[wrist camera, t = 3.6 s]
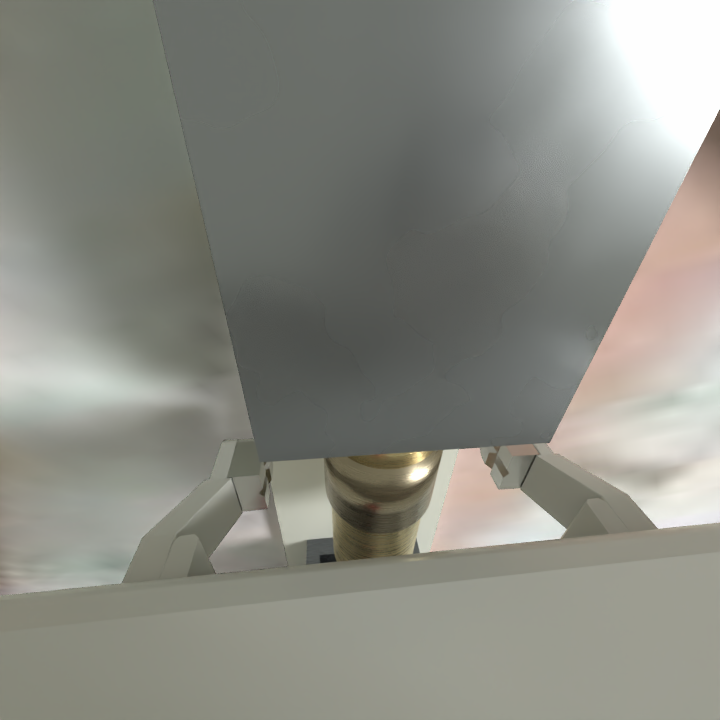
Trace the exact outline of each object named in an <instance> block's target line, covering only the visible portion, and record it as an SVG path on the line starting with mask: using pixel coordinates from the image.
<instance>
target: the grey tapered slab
mask: <svg viewBox="0 0 720 720" xmlns="http://www.w3.org/2000/svg"><path fill="white" fill-rule="evenodd" d="M153 2H154V7H155V11H156V15H157V20H158V24H159V28H160V33H161V37H162V41H163V46H164V50H165V54H166V59H167V63H168V68H169V72H170V76H171V81H172V85H173V89H174V94H175V98H176V102H177V107H178V111H179V115H180V120H181V124H182V128H183V133H184V137H185V141H186V146H187V150H188V154H189V159H190V163H191V167H192V172H193V176H194V180H195V185H196V189H197V193H198V198H199V202H200V206H201V211H202V215H203V219H204V224H205V228H206V232H207V237H208V241H209V245H210V250H211V254H212V258H213V263H214V267H215V271H216V276H217V280H218V284H219V289H220V293H221V297H222V302H223V306H224V310H225V315H226V319H227V323H228V328H229V332H230V336H231V341H232V345H233V349H234V354H235V358H236V362H237V367H238V371H239V375H240V380H241V384H242V388H243V393H244V397H245V401H246V406H247V410H248V414H249V419H250V423H251V427H252V432H253V436H254V440H255V445H256V449H257V453H258V458H259V462H274V461H289V460H303V459H318V458H333V457H348V456H362V455H377V454H392V453H406V452H421V451H436V450H451V449H465V448H480V447H495V446H509V445H524V444H539V443H550V441H551V439H552V437H553V435H554V433H555V431H556V429H557V427H558V425H559V423H560V421H561V420H562V418H563V416H564V414H565V412H566V410H567V408H568V406H569V404H570V402H571V400H572V398H573V396H574V394H575V392H576V390H577V388H578V386H579V384H580V382H581V380H582V378H583V376H584V374H585V372H586V370H587V368H588V366H589V364H590V363H591V361H592V359H593V357H594V355H595V353H596V351H597V349H598V347H599V345H600V343H601V341H602V339H603V337H604V335H605V333H606V331H607V329H608V327H609V325H610V323H611V321H612V319H613V317H614V315H615V313H616V311H617V309H618V307H619V306H620V304H621V302H622V300H623V298H624V296H625V294H626V292H627V290H628V288H629V286H630V284H631V282H632V280H633V278H634V276H635V274H636V272H637V270H638V268H639V266H640V264H641V262H642V260H643V258H644V256H645V254H646V252H647V250H648V249H649V247H650V245H651V243H652V241H653V239H654V237H655V235H656V233H657V231H658V229H659V227H660V225H661V223H662V221H663V219H664V217H665V215H666V213H667V211H668V209H669V207H670V205H671V203H672V201H673V199H674V197H675V195H676V193H677V192H678V190H679V188H680V186H681V184H682V182H683V180H684V178H685V176H686V174H687V172H688V170H689V168H690V166H691V164H692V162H693V160H694V158H695V156H696V154H697V152H698V150H699V148H700V146H701V144H702V142H703V140H704V138H705V136H706V135H707V133H708V131H709V129H710V127H711V125H712V123H713V121H714V119H715V117H716V115H717V113H718V111H719V109H720V0H153Z"/></svg>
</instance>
